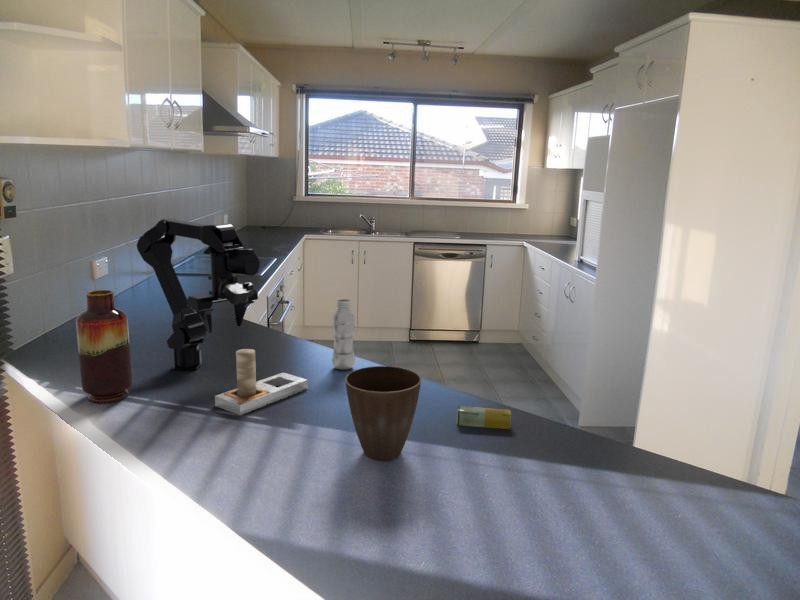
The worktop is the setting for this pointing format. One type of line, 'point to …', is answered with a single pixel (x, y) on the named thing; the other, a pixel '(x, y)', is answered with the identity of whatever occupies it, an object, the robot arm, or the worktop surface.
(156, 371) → the worktop surface
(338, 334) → the plastic bottle
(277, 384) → the white peg board
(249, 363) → the maple peg
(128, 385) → the vase
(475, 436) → the worktop surface
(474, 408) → the medication box
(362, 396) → the plant pot
